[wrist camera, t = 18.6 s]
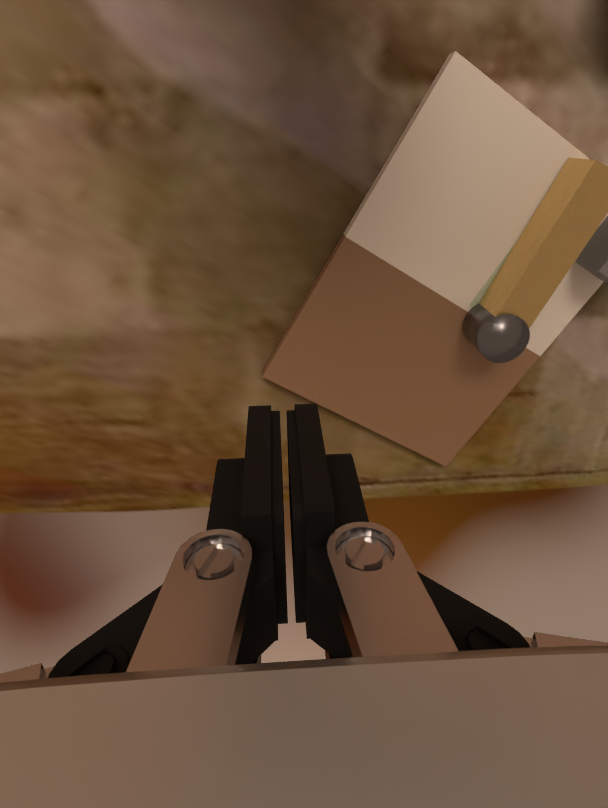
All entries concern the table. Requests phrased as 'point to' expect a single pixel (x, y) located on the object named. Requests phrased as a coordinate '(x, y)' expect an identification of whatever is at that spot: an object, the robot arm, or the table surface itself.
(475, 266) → the door panel
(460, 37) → the table surface
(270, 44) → the table surface
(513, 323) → the bar
